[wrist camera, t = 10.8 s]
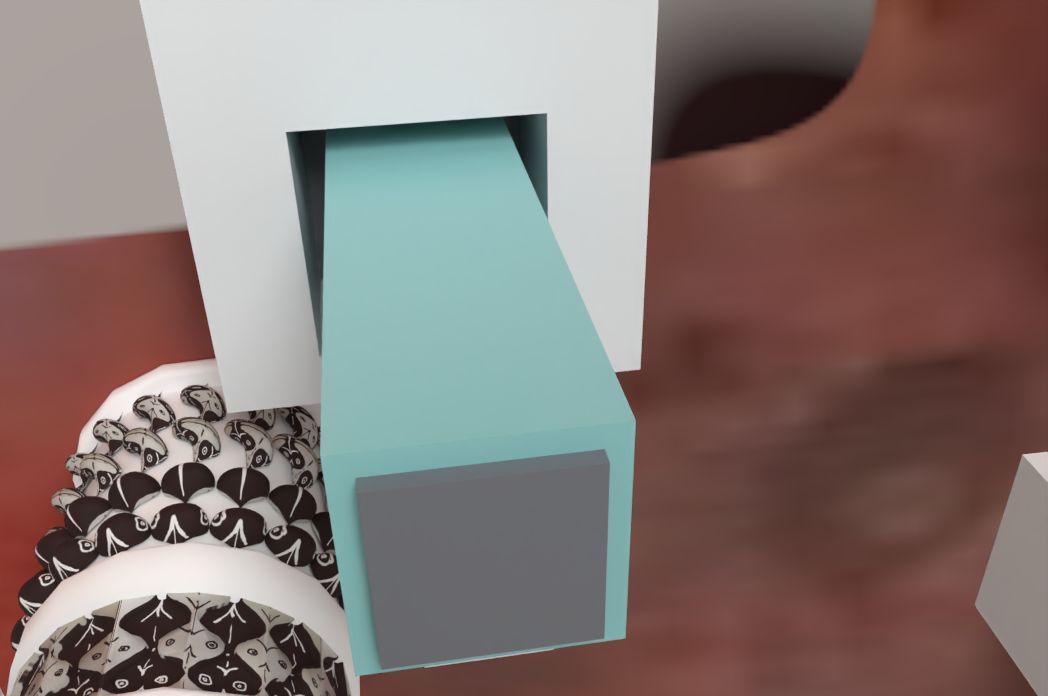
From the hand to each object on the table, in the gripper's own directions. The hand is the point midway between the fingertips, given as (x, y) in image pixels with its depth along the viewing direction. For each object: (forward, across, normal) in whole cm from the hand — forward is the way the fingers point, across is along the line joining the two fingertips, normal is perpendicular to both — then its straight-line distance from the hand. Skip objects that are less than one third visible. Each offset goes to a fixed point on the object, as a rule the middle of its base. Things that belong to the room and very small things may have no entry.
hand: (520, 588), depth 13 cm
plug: (+15, 0, 0) cm, 15 cm away
